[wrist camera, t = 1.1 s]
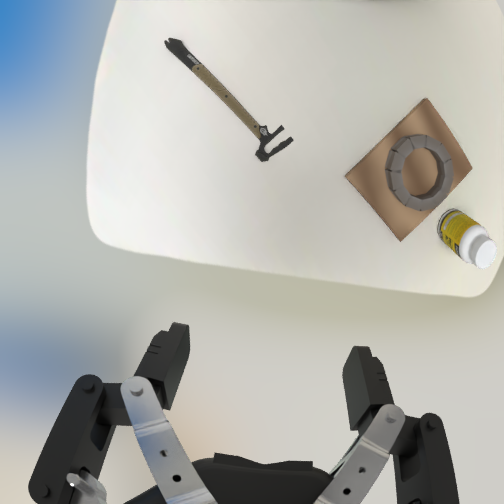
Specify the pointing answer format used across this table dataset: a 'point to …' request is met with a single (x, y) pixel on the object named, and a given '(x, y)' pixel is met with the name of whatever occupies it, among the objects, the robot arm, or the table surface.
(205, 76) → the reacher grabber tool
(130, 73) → the table surface
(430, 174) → the brown panel with ring
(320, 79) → the table surface
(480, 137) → the table surface
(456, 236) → the supplement bottle
